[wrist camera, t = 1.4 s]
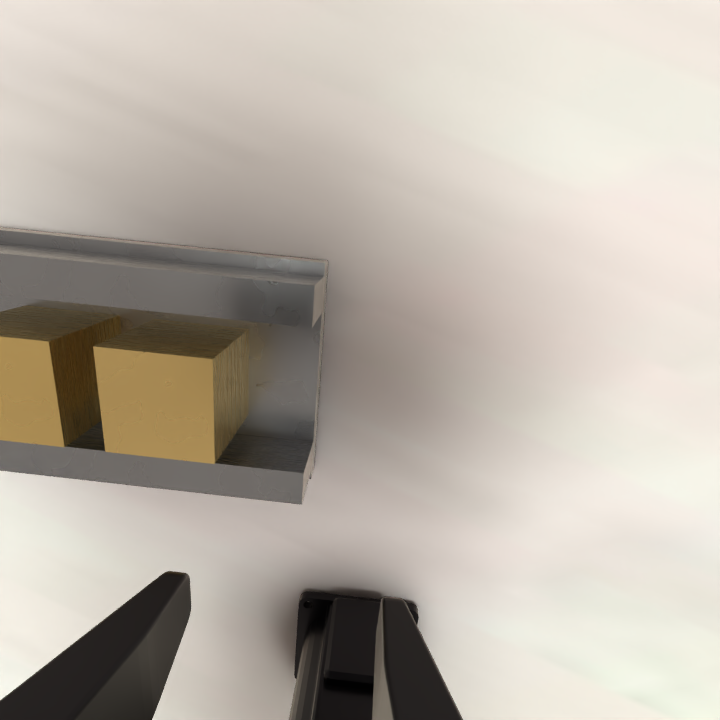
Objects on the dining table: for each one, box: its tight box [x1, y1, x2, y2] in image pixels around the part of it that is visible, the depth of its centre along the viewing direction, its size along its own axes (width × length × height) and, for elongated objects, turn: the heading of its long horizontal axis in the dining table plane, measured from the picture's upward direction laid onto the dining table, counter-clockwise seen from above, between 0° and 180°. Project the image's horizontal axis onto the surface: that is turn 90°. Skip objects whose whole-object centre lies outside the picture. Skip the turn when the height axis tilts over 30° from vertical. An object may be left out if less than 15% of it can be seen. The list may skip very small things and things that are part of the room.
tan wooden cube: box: [93, 319, 249, 464], centre depth 17 cm, size 4×4×4 cm
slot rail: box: [0, 227, 328, 504], centre depth 18 cm, size 10×17×4 cm, turn 85°
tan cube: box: [0, 305, 121, 447], centre depth 17 cm, size 4×4×4 cm
